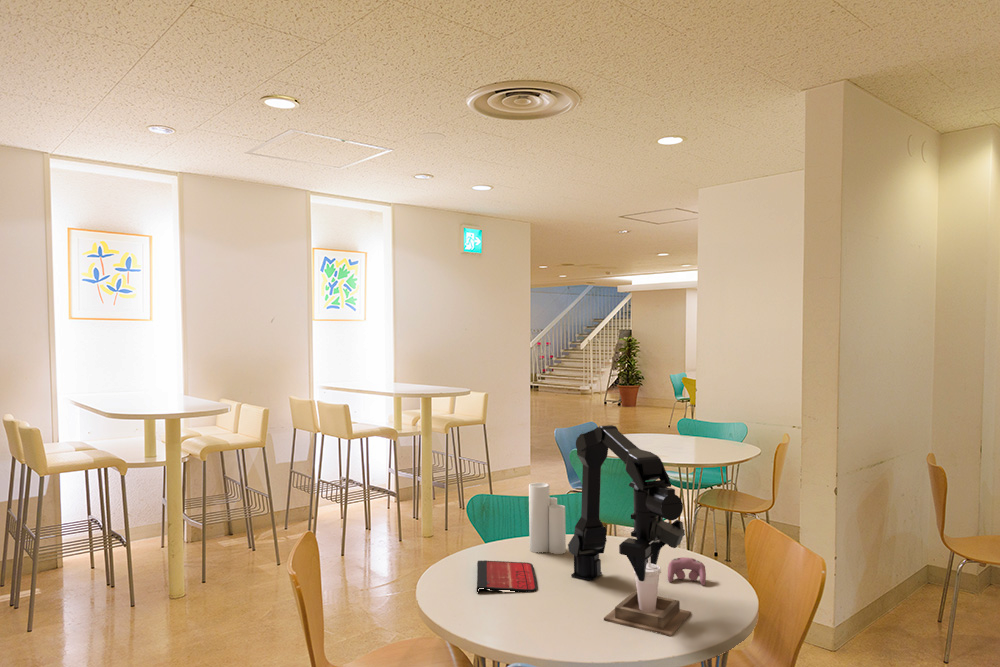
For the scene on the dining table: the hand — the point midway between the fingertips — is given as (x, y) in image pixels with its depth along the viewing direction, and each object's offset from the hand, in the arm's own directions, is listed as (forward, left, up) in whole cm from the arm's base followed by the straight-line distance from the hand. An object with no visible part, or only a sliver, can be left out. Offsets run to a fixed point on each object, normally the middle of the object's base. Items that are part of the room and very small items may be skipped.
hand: (646, 576), depth 155 cm
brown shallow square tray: (0, 0, -9) cm, 9 cm away
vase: (-44, +31, -10) cm, 55 cm away
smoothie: (0, 0, -8) cm, 8 cm away
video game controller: (+1, +27, -10) cm, 29 cm away
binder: (-42, +4, -10) cm, 43 cm away
